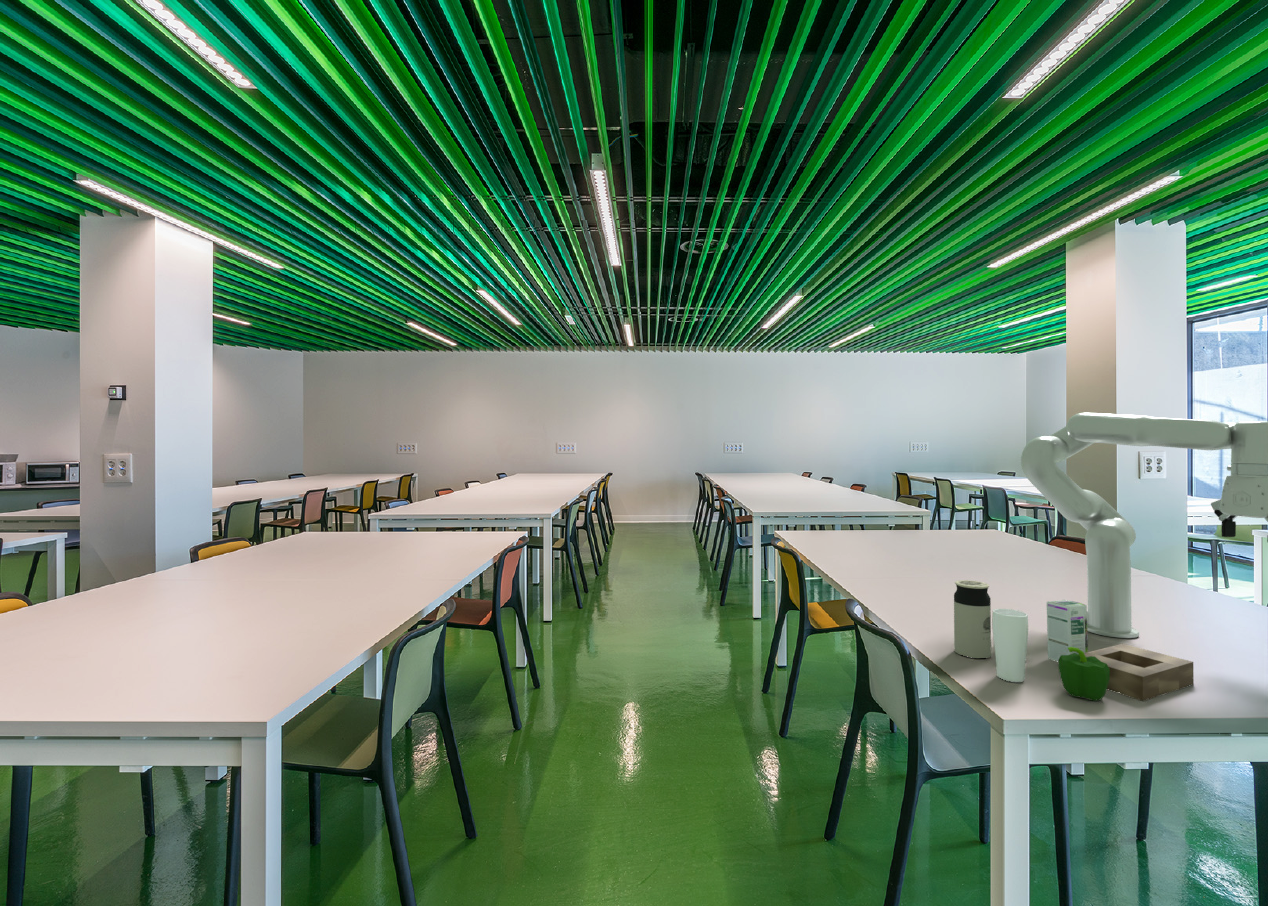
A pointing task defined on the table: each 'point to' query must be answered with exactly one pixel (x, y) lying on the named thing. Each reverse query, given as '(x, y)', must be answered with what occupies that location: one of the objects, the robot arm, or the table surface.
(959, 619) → the travel mug
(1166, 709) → the table surface
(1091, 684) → the bell pepper
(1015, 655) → the drinking glass
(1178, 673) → the walnut socket block
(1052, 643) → the syrup box
